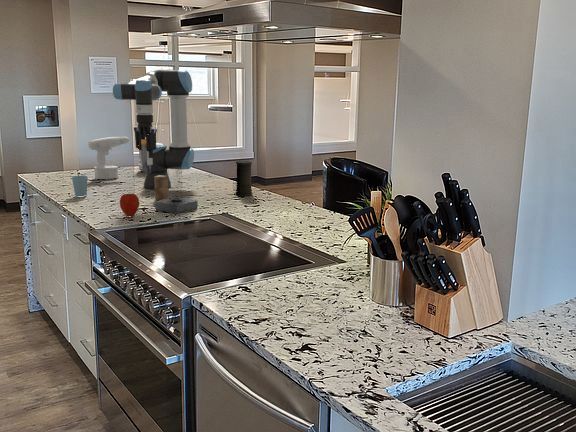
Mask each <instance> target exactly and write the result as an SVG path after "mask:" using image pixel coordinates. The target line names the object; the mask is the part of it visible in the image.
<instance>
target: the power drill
mask: <svg viewBox="0 0 576 432" xmlns="http://www.w3.org/2000/svg"><path fill="white" fill-rule="evenodd" d="M129 142H130V138H129V137H128V136H109V137H108V136H107V137H101V138H96V139H92V140H89V141H88V144H87V146H88V149H90V150H91V151H96V152H97V153H96V162H97V166H93V171H94V178H95V180H97V179H106V180H115V179H114V178H117V179H118V177H119V175H118V173H119V171H118V170H119V169H118V168H119V167H118V166H116V165H107V164H106V163H107V161H106V157H107V156H109V154H110V153H109V151H111V150H112V148H116V147H119V146H121V145H125V144H128V143H129Z"/></svg>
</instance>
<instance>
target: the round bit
mask: <svg viewBox="0 0 576 432" xmlns="http://www.w3.org/2000/svg"><path fill="white" fill-rule="evenodd" d="M141 150H142V171H141V172H142V174H144V175H145V174H149V173H151V165H147V150H148V148H147V142H146V138H145V139H141Z"/></svg>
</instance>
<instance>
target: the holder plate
mask: <svg viewBox="0 0 576 432" xmlns="http://www.w3.org/2000/svg"><path fill="white" fill-rule="evenodd" d="M198 204H199V203H198V200H196V199H190V198H184V197H178V196H174V197H169V199H165V200H155V202H154V210H155V209H156V210H155V211H158V210H161V211H160V212H163V211H165V212H164V213H168V212H169V213H168V214H174V215H179V213H180V214H184V213H187V212H191V211H194V210H198V209H199V208H198Z"/></svg>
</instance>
